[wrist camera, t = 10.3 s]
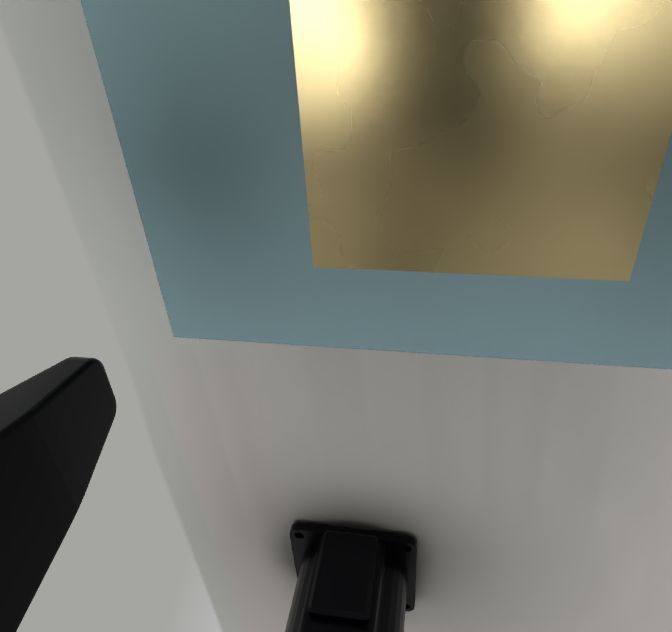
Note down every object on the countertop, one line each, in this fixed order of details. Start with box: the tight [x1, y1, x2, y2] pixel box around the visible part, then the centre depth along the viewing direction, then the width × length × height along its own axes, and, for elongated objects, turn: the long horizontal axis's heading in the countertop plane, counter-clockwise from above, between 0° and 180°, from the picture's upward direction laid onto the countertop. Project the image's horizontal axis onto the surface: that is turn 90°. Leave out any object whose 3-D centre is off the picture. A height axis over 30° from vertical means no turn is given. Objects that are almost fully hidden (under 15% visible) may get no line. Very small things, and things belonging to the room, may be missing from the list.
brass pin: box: [289, 0, 672, 281], centre depth 11 cm, size 5×5×9 cm
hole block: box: [81, 0, 672, 369], centre depth 13 cm, size 16×16×5 cm
